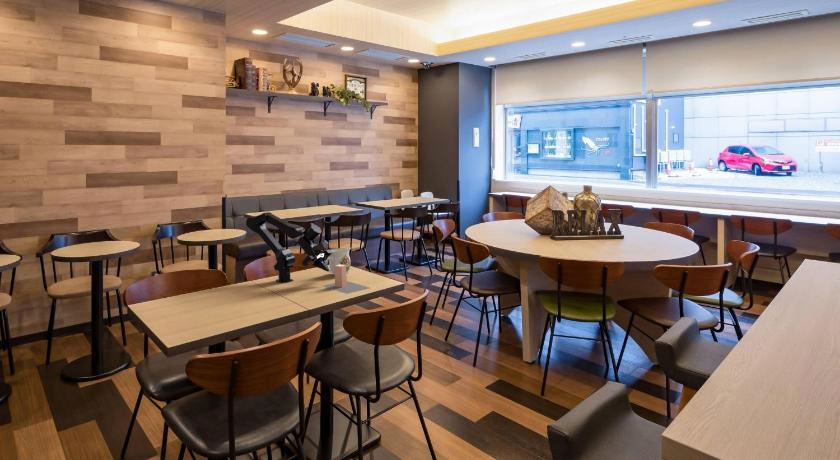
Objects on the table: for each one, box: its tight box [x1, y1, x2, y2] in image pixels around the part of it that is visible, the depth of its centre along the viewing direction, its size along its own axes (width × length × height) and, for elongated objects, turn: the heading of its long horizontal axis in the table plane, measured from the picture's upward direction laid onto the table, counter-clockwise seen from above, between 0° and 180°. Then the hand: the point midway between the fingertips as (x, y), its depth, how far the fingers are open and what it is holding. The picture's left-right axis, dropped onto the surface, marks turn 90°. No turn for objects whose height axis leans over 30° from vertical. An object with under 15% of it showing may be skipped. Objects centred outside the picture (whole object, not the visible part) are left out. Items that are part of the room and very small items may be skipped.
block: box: [334, 264, 348, 287], centre depth 242 cm, size 4×4×10 cm
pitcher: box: [326, 246, 352, 277], centre depth 265 cm, size 11×18×14 cm, turn 142°
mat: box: [322, 280, 370, 295], centre depth 241 cm, size 20×14×1 cm
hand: (328, 270), depth 244 cm, fingers closed
